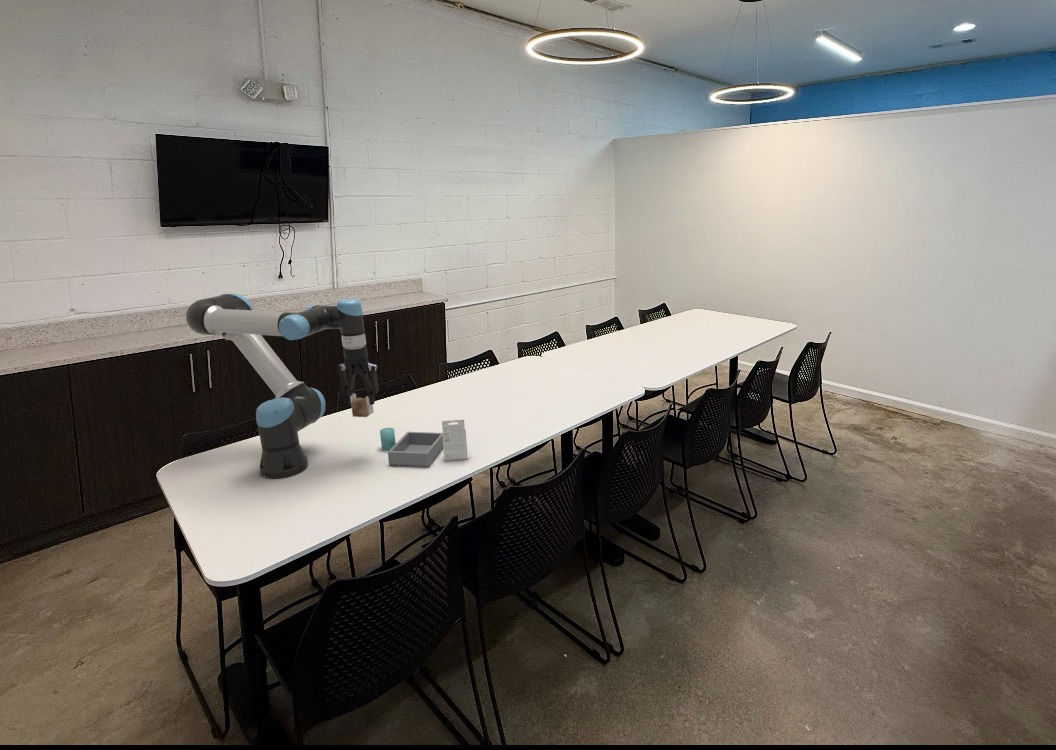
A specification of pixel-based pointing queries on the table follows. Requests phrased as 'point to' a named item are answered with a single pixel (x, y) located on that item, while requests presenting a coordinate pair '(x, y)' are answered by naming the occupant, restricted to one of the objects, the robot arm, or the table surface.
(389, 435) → the cylinder
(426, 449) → the tote
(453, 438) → the ink box
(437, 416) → the table surface
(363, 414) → the cube
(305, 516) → the table surface
